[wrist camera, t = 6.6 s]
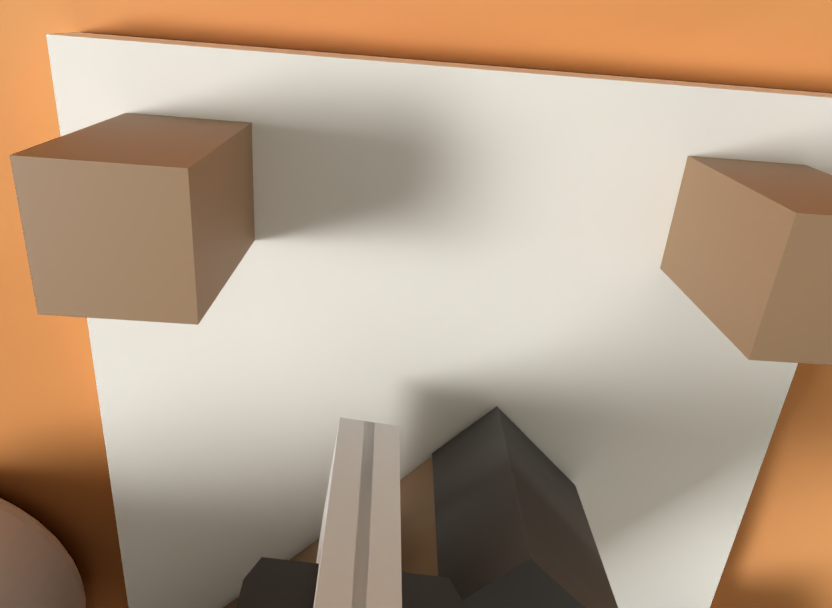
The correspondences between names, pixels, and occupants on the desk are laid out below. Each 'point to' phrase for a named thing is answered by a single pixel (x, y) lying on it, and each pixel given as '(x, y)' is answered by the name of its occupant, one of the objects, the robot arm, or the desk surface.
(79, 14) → the desk surface
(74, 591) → the coffee cup
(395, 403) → the board
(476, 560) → the leg
